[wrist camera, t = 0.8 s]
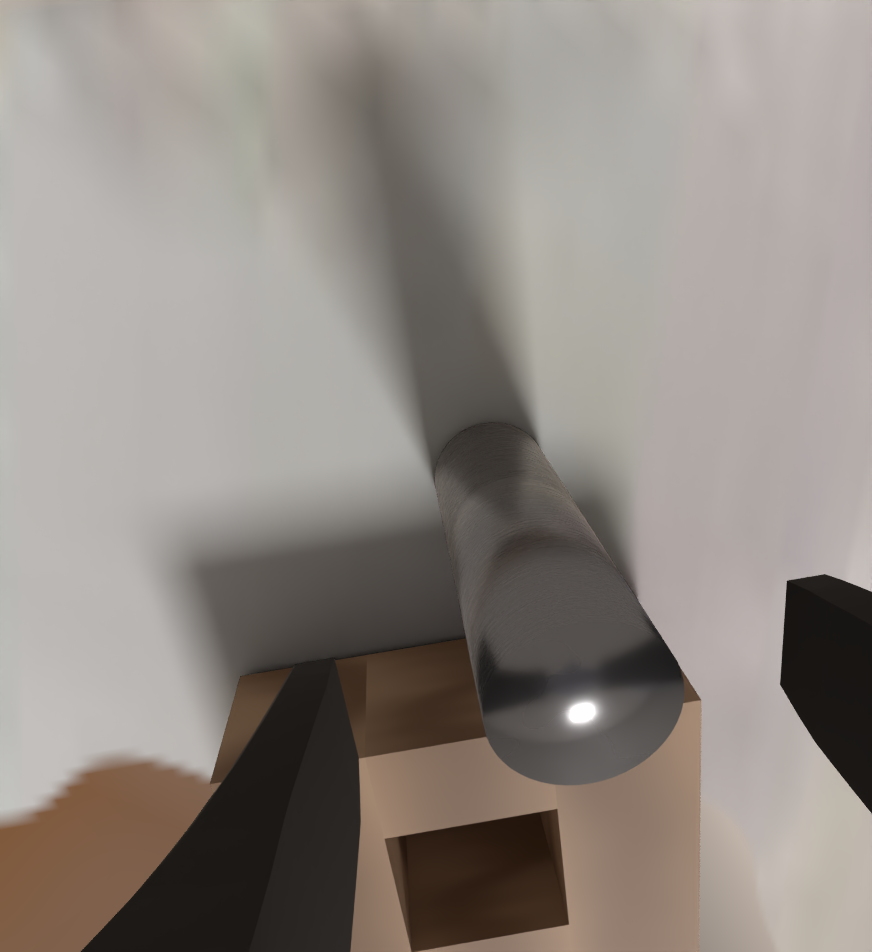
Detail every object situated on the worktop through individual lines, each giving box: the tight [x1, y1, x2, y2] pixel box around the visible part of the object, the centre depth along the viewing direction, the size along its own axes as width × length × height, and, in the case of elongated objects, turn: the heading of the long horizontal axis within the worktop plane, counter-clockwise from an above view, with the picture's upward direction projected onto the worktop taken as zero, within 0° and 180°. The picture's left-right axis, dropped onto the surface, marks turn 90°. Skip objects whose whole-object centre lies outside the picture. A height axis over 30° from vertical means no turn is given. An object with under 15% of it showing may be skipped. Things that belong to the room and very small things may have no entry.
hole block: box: [210, 638, 701, 952], centre depth 20 cm, size 12×10×4 cm
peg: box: [435, 423, 685, 785], centre depth 14 cm, size 3×3×9 cm
